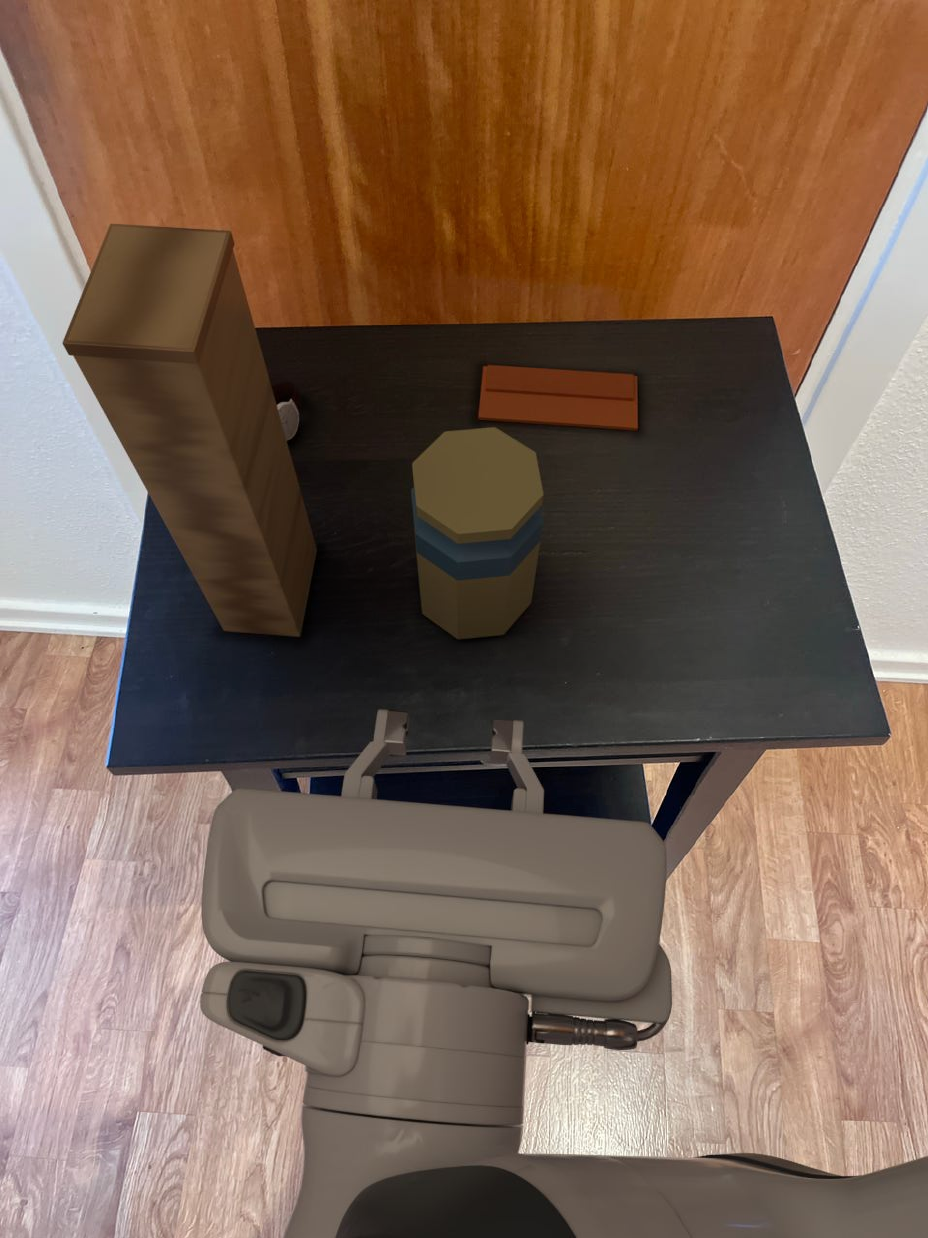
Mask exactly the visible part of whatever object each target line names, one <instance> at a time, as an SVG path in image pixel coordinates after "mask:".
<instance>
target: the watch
mask: <svg viewBox="0 0 928 1238" xmlns="http://www.w3.org/2000/svg"><path fill="white" fill-rule="evenodd" d="M271 387H272V390H273V394H274V398H275V401H276V402H277V401H279V400H281V399H284V398H287V397H291V398H290V399H289V401H281V402H279V403H278V404H276V405H277V408H278V412H279V416H280V419H281V423H282V426H283V430H284V433H285V437H286V441H287V442H288V441H289V440H291V439H292V438H293V437H294V436H295V435H296V433H297V431H298V427H299V422H300V417H299V416H300V411H301V409H302V407H303V399H302V396H301V393H300V391H299V388H298V386H297V384H296V383H295V382H294V381H291V380H285V381H280V382H276V383H274V384H271Z"/></svg>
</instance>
